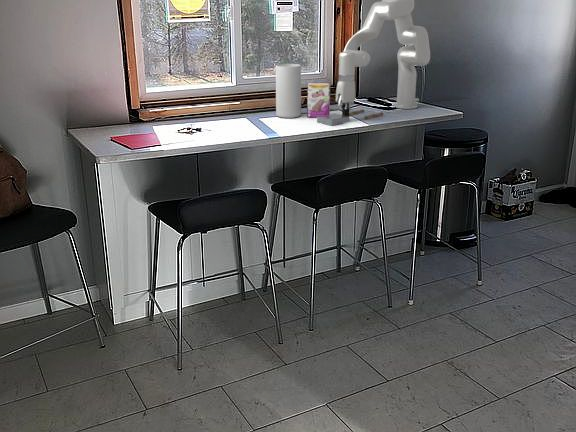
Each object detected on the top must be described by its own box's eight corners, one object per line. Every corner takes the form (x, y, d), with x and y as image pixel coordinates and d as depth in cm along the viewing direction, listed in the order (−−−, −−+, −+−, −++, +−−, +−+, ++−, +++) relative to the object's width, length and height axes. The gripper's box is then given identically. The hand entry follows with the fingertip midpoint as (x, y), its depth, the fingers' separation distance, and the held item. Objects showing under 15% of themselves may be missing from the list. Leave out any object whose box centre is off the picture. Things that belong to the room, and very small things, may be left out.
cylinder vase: (300, 113, 325) (300, 63, 317) (301, 118, 313) (301, 66, 305) (276, 113, 325) (275, 64, 317) (276, 118, 313) (275, 66, 305)
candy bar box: (306, 117, 314) (307, 84, 309) (307, 115, 319) (307, 83, 313) (329, 118, 313) (329, 84, 308) (329, 116, 318) (330, 83, 312)
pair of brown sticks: (362, 112, 327) (362, 109, 327) (383, 115, 319) (383, 112, 318) (345, 116, 318) (345, 113, 317) (366, 119, 309) (366, 116, 309)
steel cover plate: (334, 119, 312) (335, 113, 311) (349, 122, 304) (349, 116, 303) (317, 122, 304) (317, 116, 303) (331, 125, 297) (331, 119, 296)
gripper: (350, 76, 309) (349, 113, 315) (330, 79, 299) (329, 117, 305) (362, 77, 304) (361, 115, 310) (342, 80, 294) (341, 119, 300)
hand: (345, 116), depth 308 cm, fingers closed
